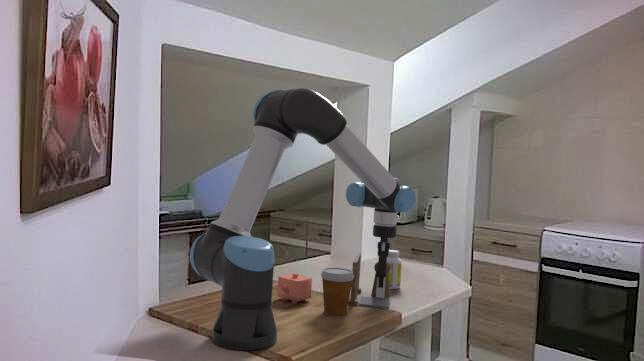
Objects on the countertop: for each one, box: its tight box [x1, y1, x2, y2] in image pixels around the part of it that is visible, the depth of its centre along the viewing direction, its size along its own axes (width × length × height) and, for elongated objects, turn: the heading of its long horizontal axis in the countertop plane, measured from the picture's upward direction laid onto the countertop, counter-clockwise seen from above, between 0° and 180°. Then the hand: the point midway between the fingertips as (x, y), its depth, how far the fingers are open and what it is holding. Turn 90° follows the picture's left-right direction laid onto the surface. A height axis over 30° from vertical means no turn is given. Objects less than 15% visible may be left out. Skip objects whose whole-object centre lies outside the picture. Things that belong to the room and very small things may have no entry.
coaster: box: [358, 295, 390, 309], centre depth 162 cm, size 9×9×1 cm
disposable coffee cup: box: [320, 267, 354, 317], centre depth 149 cm, size 10×10×12 cm
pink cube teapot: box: [276, 272, 313, 305], centre depth 159 cm, size 8×12×8 cm, turn 143°
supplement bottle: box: [387, 249, 403, 290], centre depth 184 cm, size 7×7×13 cm
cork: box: [371, 261, 391, 299], centre depth 171 cm, size 6×6×11 cm
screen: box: [348, 252, 362, 307], centre depth 166 cm, size 3×18×13 cm, turn 172°
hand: (380, 293), depth 171 cm, fingers open, 9 cm apart
